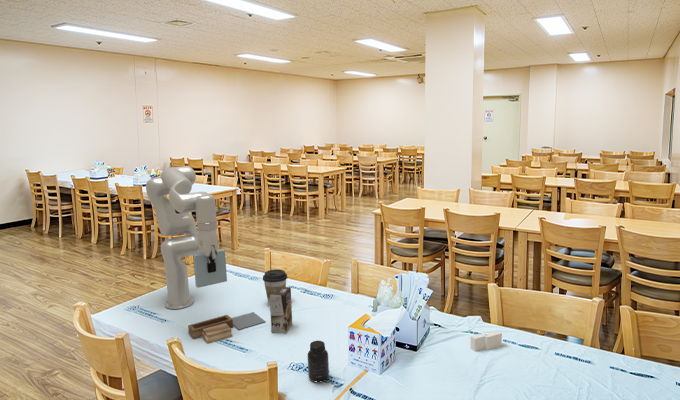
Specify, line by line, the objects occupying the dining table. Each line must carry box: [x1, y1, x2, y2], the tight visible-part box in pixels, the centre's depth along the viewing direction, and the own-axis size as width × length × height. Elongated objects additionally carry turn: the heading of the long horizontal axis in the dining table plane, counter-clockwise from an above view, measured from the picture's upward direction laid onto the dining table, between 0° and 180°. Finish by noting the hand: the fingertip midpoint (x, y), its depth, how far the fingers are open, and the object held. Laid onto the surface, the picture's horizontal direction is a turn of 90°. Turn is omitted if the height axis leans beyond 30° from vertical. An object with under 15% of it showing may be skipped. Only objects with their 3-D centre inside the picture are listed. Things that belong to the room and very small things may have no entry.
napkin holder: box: [470, 330, 503, 352], centre depth 172 cm, size 15×11×6 cm
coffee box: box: [269, 286, 293, 334], centre depth 190 cm, size 9×6×16 cm
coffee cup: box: [262, 268, 288, 306], centre depth 215 cm, size 11×11×15 cm
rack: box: [187, 314, 234, 340], centre depth 190 cm, size 6×16×4 cm, turn 125°
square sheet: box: [192, 248, 228, 289], centre depth 187 cm, size 2×12×13 cm, turn 124°
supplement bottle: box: [307, 340, 330, 383], centre depth 154 cm, size 7×7×12 cm
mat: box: [230, 311, 267, 331], centre depth 198 cm, size 12×12×1 cm
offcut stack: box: [201, 323, 233, 345], centre depth 185 cm, size 7×10×4 cm
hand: (210, 270), depth 187 cm, fingers closed on square sheet, 2 cm apart
